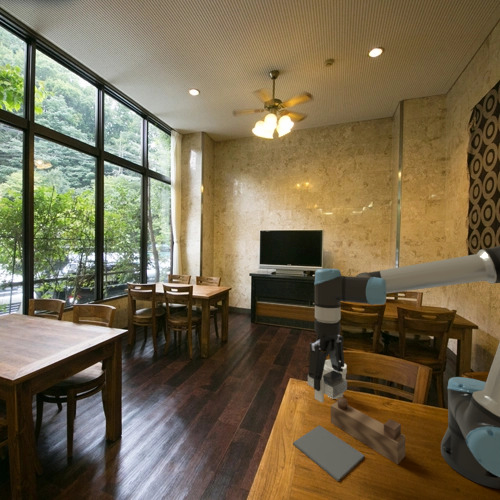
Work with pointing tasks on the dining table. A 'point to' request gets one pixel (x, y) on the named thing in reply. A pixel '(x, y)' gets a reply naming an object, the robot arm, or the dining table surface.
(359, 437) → the plane body
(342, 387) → the light grey block
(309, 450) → the rubber mat
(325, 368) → the foam cup
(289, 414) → the dining table surface
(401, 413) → the dining table surface
